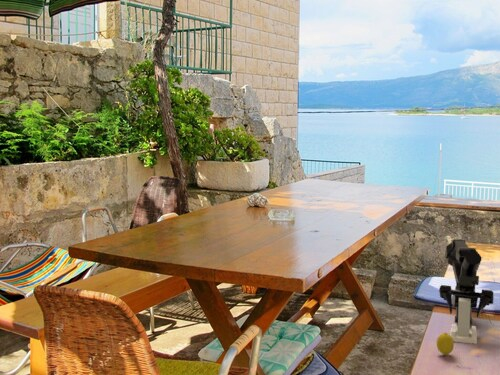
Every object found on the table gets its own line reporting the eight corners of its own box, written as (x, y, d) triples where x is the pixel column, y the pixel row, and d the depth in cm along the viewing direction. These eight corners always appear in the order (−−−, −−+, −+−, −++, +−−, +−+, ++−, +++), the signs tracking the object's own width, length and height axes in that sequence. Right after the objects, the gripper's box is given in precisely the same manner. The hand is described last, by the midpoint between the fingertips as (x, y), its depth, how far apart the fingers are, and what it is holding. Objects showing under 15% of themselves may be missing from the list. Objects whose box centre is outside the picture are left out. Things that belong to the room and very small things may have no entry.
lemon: (433, 353, 206) (433, 331, 205) (446, 350, 208) (446, 328, 207) (443, 359, 201) (444, 336, 200) (456, 356, 203) (457, 334, 202)
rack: (450, 332, 225) (451, 323, 225) (476, 335, 222) (476, 326, 222) (450, 341, 217) (450, 331, 216) (476, 344, 214) (477, 334, 213)
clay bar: (458, 331, 222) (459, 297, 220) (469, 332, 221) (470, 298, 219) (457, 335, 218) (458, 300, 217) (469, 336, 217) (470, 302, 215)
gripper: (440, 264, 224) (435, 301, 216) (494, 269, 216) (490, 307, 208) (443, 279, 232) (438, 315, 224) (494, 284, 224) (491, 322, 216)
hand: (463, 314), depth 217 cm, fingers open, 9 cm apart
